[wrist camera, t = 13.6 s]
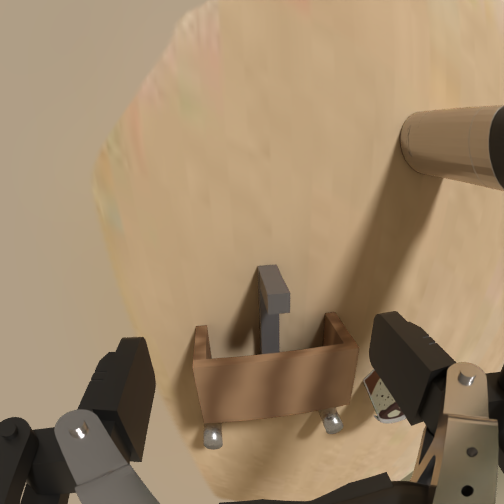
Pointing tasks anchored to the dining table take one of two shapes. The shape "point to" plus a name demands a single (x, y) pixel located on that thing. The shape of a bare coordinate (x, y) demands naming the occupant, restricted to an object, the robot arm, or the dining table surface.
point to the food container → (382, 400)
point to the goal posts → (215, 429)
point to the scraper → (271, 306)
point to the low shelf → (276, 378)
